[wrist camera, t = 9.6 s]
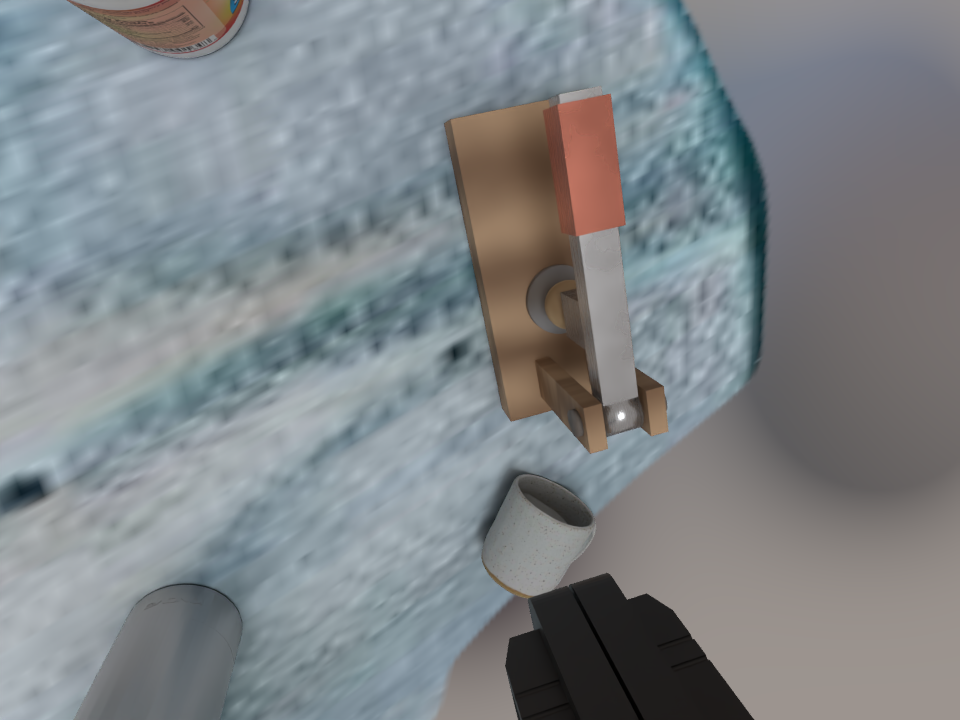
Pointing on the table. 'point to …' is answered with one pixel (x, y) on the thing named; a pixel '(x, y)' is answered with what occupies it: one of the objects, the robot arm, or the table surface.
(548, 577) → the ceramic mug
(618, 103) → the table surface
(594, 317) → the lever
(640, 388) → the base
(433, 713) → the table surface
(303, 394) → the table surface
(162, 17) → the fruit juice
